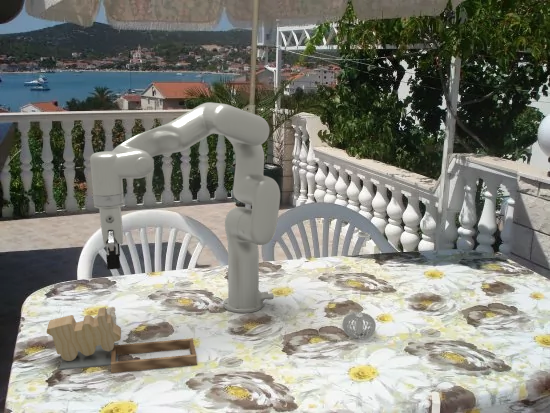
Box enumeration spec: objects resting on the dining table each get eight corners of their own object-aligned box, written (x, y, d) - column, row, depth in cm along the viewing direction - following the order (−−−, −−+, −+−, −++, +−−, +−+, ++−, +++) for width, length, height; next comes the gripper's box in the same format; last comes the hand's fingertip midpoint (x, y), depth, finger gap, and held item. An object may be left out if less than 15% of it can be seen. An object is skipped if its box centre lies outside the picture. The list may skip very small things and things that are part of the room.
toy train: (123, 348, 160) (114, 312, 157) (55, 364, 157) (45, 328, 154) (123, 338, 165) (115, 304, 162) (57, 354, 162) (48, 319, 159)
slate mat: (118, 343, 169) (118, 342, 168) (117, 364, 157) (117, 362, 157) (64, 348, 165) (64, 347, 165) (59, 369, 154) (59, 368, 154)
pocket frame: (192, 346, 167) (192, 338, 167) (196, 364, 157) (196, 355, 157) (112, 353, 163) (111, 345, 162) (111, 372, 153) (110, 364, 152)
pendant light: (377, 331, 178) (383, 230, 172) (371, 344, 170) (377, 239, 163) (346, 326, 181) (349, 227, 175) (338, 339, 173) (342, 235, 166)
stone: (88, 349, 173) (85, 327, 167) (91, 314, 182) (89, 291, 176) (116, 348, 175) (114, 326, 168) (118, 313, 184) (117, 290, 177)
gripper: (124, 206, 153) (129, 272, 157) (123, 191, 169) (128, 251, 173) (92, 208, 151) (98, 275, 155) (94, 193, 167) (100, 253, 172)
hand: (114, 262), depth 164 cm, fingers open, 9 cm apart
